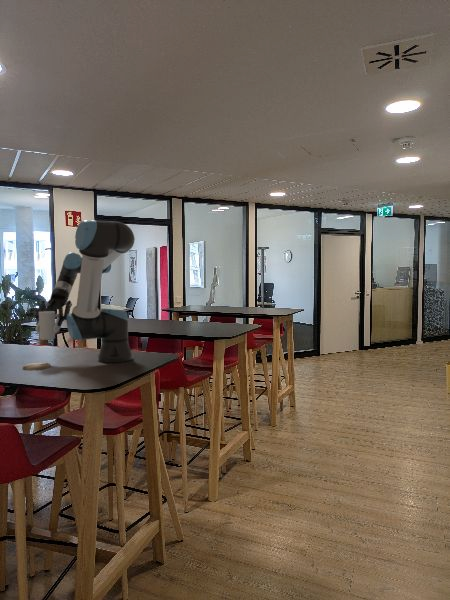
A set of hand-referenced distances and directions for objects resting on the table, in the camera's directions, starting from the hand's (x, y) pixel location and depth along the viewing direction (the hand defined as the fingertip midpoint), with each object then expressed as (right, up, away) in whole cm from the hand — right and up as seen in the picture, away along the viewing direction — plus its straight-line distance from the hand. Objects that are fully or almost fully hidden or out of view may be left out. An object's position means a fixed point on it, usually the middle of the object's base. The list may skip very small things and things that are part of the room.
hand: (46, 331), depth 202 cm
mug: (+1, -4, +4) cm, 5 cm away
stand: (-1, -15, -7) cm, 16 cm away
